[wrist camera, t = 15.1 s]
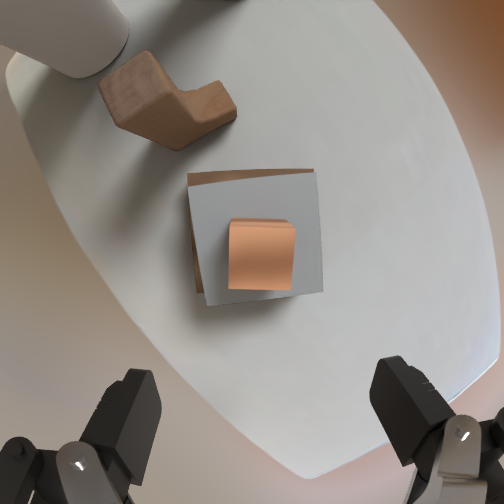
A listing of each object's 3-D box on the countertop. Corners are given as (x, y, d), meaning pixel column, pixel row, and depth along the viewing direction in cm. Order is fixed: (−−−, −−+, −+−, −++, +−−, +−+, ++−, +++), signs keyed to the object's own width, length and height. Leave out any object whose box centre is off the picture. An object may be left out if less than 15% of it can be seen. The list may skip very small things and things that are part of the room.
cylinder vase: (133, 5, 26) (66, -86, 1) (129, 64, 29) (26, -26, 5) (67, 31, 26) (-19, -25, 1) (60, 90, 29) (-56, 52, 5)
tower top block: (196, 185, 29) (187, 186, 25) (304, 173, 30) (315, 172, 25) (211, 287, 32) (207, 306, 28) (311, 275, 33) (323, 291, 28)
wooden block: (221, 90, 31) (204, 16, 13) (238, 117, 32) (234, 58, 14) (161, 124, 32) (94, 83, 14) (176, 152, 33) (115, 128, 15)
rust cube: (232, 217, 25) (229, 226, 21) (285, 219, 26) (295, 228, 21) (231, 269, 27) (228, 288, 22) (282, 270, 27) (290, 290, 22)
